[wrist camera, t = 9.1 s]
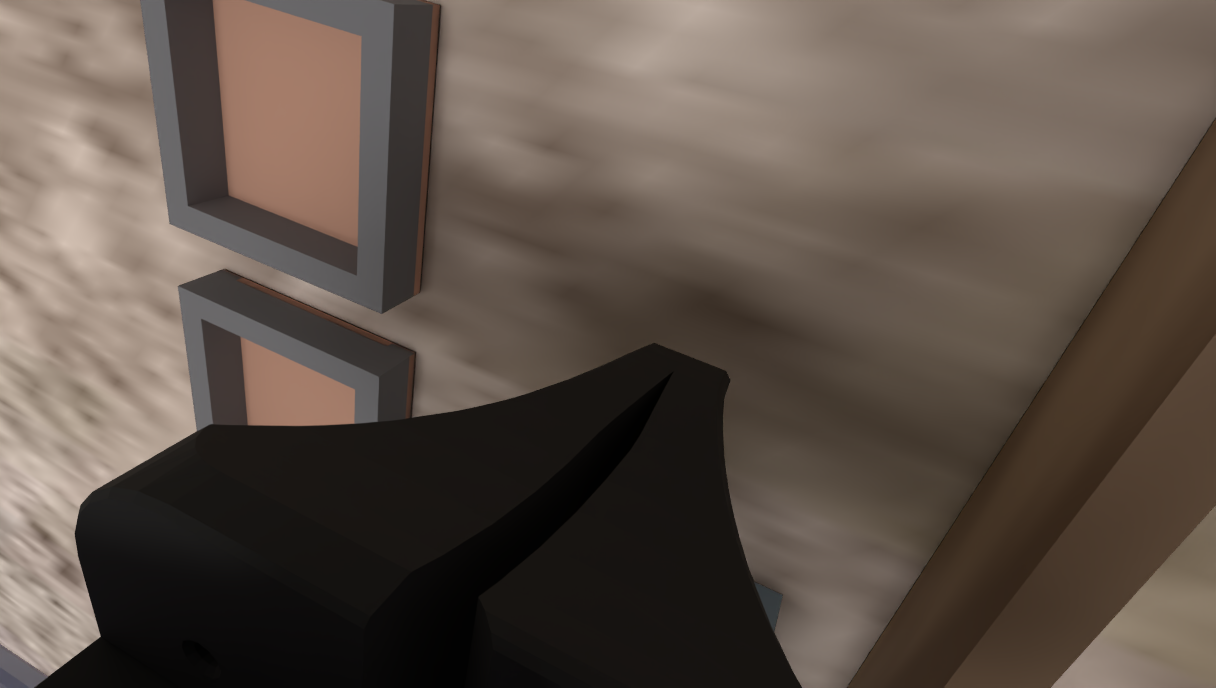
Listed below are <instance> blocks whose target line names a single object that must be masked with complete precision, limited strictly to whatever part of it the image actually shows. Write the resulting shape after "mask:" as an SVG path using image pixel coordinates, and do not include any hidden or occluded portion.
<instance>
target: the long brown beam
mask: <svg viewBox="0 0 1216 688" xmlns="http://www.w3.org/2000/svg"><path fill="white" fill-rule="evenodd" d="M1215 505H1216V119H1215V121H1214V122H1213V124H1212V126H1211V127H1210V129H1209V130H1208V132H1207V133H1206V135H1205V136H1204V138H1203V139H1202V141H1201V142H1200V144H1199V146H1198V147H1197V149H1196V150H1195V152H1194V153H1193V155H1192V156H1191V158H1190V159H1189V161H1188V163H1187V164H1186V166H1185V167H1184V169H1183V170H1182V172H1181V173H1180V175H1179V176H1178V178H1177V180H1176V181H1175V183H1174V184H1173V186H1172V187H1171V189H1170V190H1169V192H1168V193H1167V195H1166V197H1165V198H1164V200H1163V201H1162V203H1161V204H1160V206H1159V207H1158V209H1157V210H1156V212H1155V214H1154V215H1153V217H1152V218H1151V220H1150V221H1149V223H1148V224H1147V226H1146V227H1145V229H1144V230H1143V232H1142V234H1141V235H1140V237H1139V238H1138V240H1137V241H1136V243H1135V244H1134V246H1133V247H1132V249H1131V251H1130V252H1129V254H1128V255H1127V257H1126V258H1125V260H1124V261H1123V263H1122V264H1121V266H1120V268H1119V269H1118V271H1117V272H1116V274H1115V275H1114V277H1113V278H1112V280H1111V281H1110V283H1109V285H1108V286H1107V288H1106V289H1105V291H1104V292H1103V294H1102V295H1101V297H1100V298H1099V300H1098V302H1097V303H1096V305H1095V306H1094V308H1093V309H1092V311H1091V312H1090V314H1089V315H1088V317H1087V319H1086V320H1085V322H1084V323H1083V325H1082V326H1081V328H1080V329H1079V331H1078V332H1077V334H1076V335H1075V337H1074V339H1073V340H1072V342H1071V343H1070V345H1069V346H1068V348H1067V349H1066V351H1065V352H1064V354H1063V356H1062V357H1061V359H1060V360H1059V362H1058V363H1057V365H1056V366H1055V368H1054V369H1053V371H1052V373H1051V374H1050V376H1049V377H1048V379H1047V380H1046V382H1045V383H1044V385H1043V386H1042V388H1041V390H1040V391H1039V393H1038V394H1037V396H1036V397H1035V399H1034V400H1033V402H1032V403H1031V405H1030V407H1029V408H1028V410H1027V411H1026V413H1025V414H1024V416H1023V417H1022V419H1021V420H1020V422H1019V423H1018V425H1017V427H1016V428H1015V430H1014V431H1013V433H1012V434H1011V436H1010V437H1009V439H1008V440H1007V442H1006V444H1005V445H1004V447H1003V448H1002V450H1001V451H1000V453H999V454H998V456H997V457H996V459H995V461H994V462H993V464H992V465H991V467H990V468H989V470H988V471H987V473H986V474H985V476H984V478H983V479H982V481H981V482H980V484H979V485H978V487H977V488H976V490H975V491H974V493H973V495H972V496H971V498H970V499H969V501H968V502H967V504H966V505H965V507H964V508H963V510H962V512H961V513H960V515H959V516H958V518H957V519H956V521H955V522H954V524H953V525H952V527H951V528H950V530H949V532H948V533H947V535H946V536H945V538H944V539H943V541H942V542H941V544H940V545H939V547H938V549H937V550H936V552H935V553H934V555H933V556H932V558H931V559H930V561H929V562H928V564H927V566H926V567H925V569H924V570H923V572H922V573H921V575H920V576H919V578H918V579H917V581H916V583H915V584H914V586H913V587H912V589H911V590H910V592H909V593H908V595H907V596H906V598H905V600H904V601H903V603H902V604H901V606H900V607H899V609H898V610H897V612H896V613H895V615H894V616H893V618H892V620H891V621H890V623H889V624H888V626H887V627H886V629H885V630H884V632H883V633H882V635H881V637H880V638H879V640H878V641H877V643H876V644H875V646H874V647H873V649H872V650H871V652H870V654H869V655H868V657H867V658H866V660H865V661H864V663H863V664H862V666H861V667H860V669H859V671H858V672H857V674H856V675H855V677H854V678H853V680H852V681H851V683H850V684H849V686H848V688H1051V687H1052V685H1053V684H1054V683H1055V682H1056V681H1057V680H1058V679H1059V678H1060V677H1061V676H1062V674H1063V673H1064V672H1065V671H1066V670H1067V669H1068V668H1069V667H1070V666H1071V664H1072V663H1073V662H1074V661H1075V660H1076V659H1077V658H1078V657H1079V656H1080V654H1081V653H1082V652H1083V651H1084V650H1085V649H1086V648H1087V647H1088V646H1089V645H1090V643H1091V642H1092V641H1093V640H1094V639H1095V638H1096V637H1097V636H1098V635H1099V633H1100V632H1101V631H1102V630H1103V629H1104V628H1105V627H1106V626H1107V625H1108V624H1109V622H1110V621H1111V620H1112V619H1113V618H1114V617H1115V616H1116V615H1117V614H1118V612H1119V611H1120V610H1121V609H1122V608H1123V607H1124V606H1125V605H1126V604H1127V603H1128V601H1129V600H1130V599H1131V598H1132V597H1133V596H1134V595H1135V594H1136V593H1137V591H1138V590H1139V589H1140V588H1141V587H1142V586H1143V585H1144V584H1145V583H1146V582H1147V580H1148V579H1149V578H1150V577H1151V576H1152V575H1153V574H1154V573H1155V572H1156V570H1157V569H1158V568H1159V567H1160V566H1161V565H1162V564H1163V563H1164V562H1165V560H1166V559H1167V558H1168V557H1169V556H1170V555H1171V554H1172V553H1173V552H1174V551H1175V549H1176V548H1177V547H1178V546H1179V545H1180V544H1181V543H1182V542H1183V541H1184V539H1185V538H1186V537H1187V536H1188V535H1189V534H1190V533H1191V532H1192V531H1193V530H1194V528H1195V527H1196V526H1197V525H1198V524H1199V523H1200V522H1201V521H1202V520H1203V518H1204V517H1205V516H1206V515H1207V514H1208V513H1209V512H1210V511H1211V510H1212V509H1213V507H1214V506H1215Z"/></svg>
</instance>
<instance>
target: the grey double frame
mask: <svg viewBox="0 0 1216 688" xmlns="http://www.w3.org/2000/svg"><path fill="white" fill-rule="evenodd" d="M140 2H141V9H142V17H143V24H144V32H145V40H146V47H147V55H148V62H149V70H150V78H151V85H152V93H153V101H154V108H155V116H156V123H157V131H158V139H159V146H160V154H161V161H162V169H163V177H164V184H165V192H166V199H167V207H168V215H169V222H170V224H171V225H174V226H176V227H178V228H181V229H183V230H185V231H188V232H190V233H192V234H195V235H197V236H199V237H202V238H204V239H207V240H209V241H211V242H214V243H216V244H218V245H221V246H223V247H225V248H228V249H230V250H232V251H235V252H237V253H240V254H242V255H244V256H247V257H249V258H251V259H254V260H256V261H258V262H261V263H263V264H265V265H268V266H270V267H273V268H275V269H277V270H280V271H282V272H284V273H287V274H289V275H291V276H294V277H296V278H298V279H301V280H303V281H306V282H308V283H310V284H313V285H315V286H317V287H320V288H322V289H324V290H327V291H329V292H331V293H334V294H336V295H338V296H341V297H343V298H346V299H348V300H350V301H353V302H355V303H357V304H360V305H362V306H364V307H367V308H369V309H371V310H374V311H376V312H379V313H381V314H382V313H384V312H386V311H388V310H390V309H391V308H393V307H395V306H397V305H398V304H400V303H402V302H404V301H406V300H407V299H409V298H411V297H413V296H415V295H416V294H418V293H420V280H421V266H422V252H423V238H424V224H425V210H426V196H427V182H428V168H429V154H430V140H431V126H432V112H433V98H434V84H435V70H436V56H437V42H438V28H439V14H440V5H438V4H434V3H431V2H427V1H424V0H140ZM178 291H179V298H180V306H181V313H182V321H183V329H184V336H185V344H186V351H187V359H188V367H189V374H190V382H191V389H192V397H193V405H194V412H195V420H196V427H197V431H199V430H200V429H202V428H204V427H206V426H208V425H210V424H218V425H270V426H314V425H338V424H357V423H369V422H381V421H392V420H400V419H407V418H411V406H412V392H413V378H414V364H415V352H413V351H410V350H408V349H406V348H404V347H401V346H399V345H397V344H394V343H392V342H390V341H387V340H385V339H383V338H381V337H378V336H376V335H374V334H371V333H369V332H367V331H364V330H362V329H360V328H358V327H355V326H353V325H351V324H348V323H346V322H344V321H341V320H339V319H337V318H335V317H332V316H330V315H328V314H325V313H323V312H321V311H318V310H316V309H314V308H312V307H309V306H307V305H305V304H302V303H300V302H298V301H295V300H293V299H291V298H289V297H286V296H284V295H282V294H279V293H277V292H275V291H272V290H270V289H268V288H266V287H263V286H261V285H259V284H256V283H254V282H252V281H249V280H247V279H245V278H243V277H240V276H238V275H236V274H233V273H231V272H229V271H226V270H224V269H223V270H220V271H217V272H215V273H212V274H209V275H206V276H204V277H201V278H198V279H195V280H193V281H190V282H187V283H185V284H182V285H179V286H178Z"/></svg>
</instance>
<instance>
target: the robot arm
mask: <svg viewBox="0 0 1216 688" xmlns="http://www.w3.org/2000/svg"><path fill="white" fill-rule="evenodd" d="M729 383H730V378H729V376H728V374H727V372H726V371H725V370H722V369H720V368H717V367H715V366H712V365H709V364H707V363H704V362H702V361H699V360H696V359H694V358H691V357H689V356H686V355H684V354H681V353H678V352H676V351H673V350H671V349H668V348H666V347H663V346H660V345H658V344H655V343H653V344H650V345H648V346H645V347H643V348H641V349H638V350H636V351H634V352H631V353H629V354H627V355H625V356H623V357H620V358H618V359H616V360H614V361H611V362H609V363H607V364H605V365H602V366H600V367H598V368H595V369H593V370H591V371H588V372H586V373H583V374H581V375H578V376H576V377H574V378H571V379H569V380H566V381H563V382H560V383H557V384H554V385H551V386H548V387H546V388H543V389H540V390H537V391H534V392H531V393H528V394H525V395H522V396H518V397H515V398H511V399H507V400H504V401H500V402H496V403H491V404H487V405H483V406H478V407H474V408H470V409H465V410H460V411H454V412H447V413H441V414H434V415H427V416H421V417H414V418H407V419H400V420H392V421H381V422H369V423H357V424H338V425H314V426H270V425H218V424H210V425H208V426H206V427H204V428H202V429H200V430H199V431H197V432H195V433H193V434H192V435H190V436H188V437H186V438H185V439H183V440H181V441H180V442H178V443H176V444H174V445H173V446H171V447H169V448H167V449H166V450H164V451H162V452H160V453H159V454H157V455H155V456H154V457H152V458H150V459H148V460H147V461H145V462H143V463H141V464H140V465H138V466H136V467H135V468H133V469H131V470H129V471H128V472H126V473H124V474H122V475H121V476H119V477H117V478H116V479H114V480H112V481H110V482H109V483H107V484H105V485H103V486H102V487H100V488H98V489H97V490H95V491H93V492H92V493H91V494H90V495H89V496H88V497H87V498H86V500H85V501H84V502H83V503H82V504H81V506H80V510H79V514H78V519H77V524H76V530H75V539H76V545H77V551H78V557H79V561H80V564H81V568H82V571H83V575H84V578H85V582H86V585H87V589H88V593H89V596H90V600H91V603H92V607H93V610H94V614H95V617H96V621H97V624H98V628H99V632H100V635H101V637H100V638H99V639H97V640H96V641H95V642H93V643H92V644H91V645H89V646H88V647H87V648H85V649H84V650H83V651H81V652H80V653H79V654H77V655H76V656H75V657H74V658H72V659H71V660H70V661H68V662H67V663H66V664H64V665H63V666H62V667H60V668H59V669H58V670H56V671H55V672H54V673H53V674H51V675H50V676H49V677H48V676H47V675H45V674H44V673H42V672H41V671H39V670H38V669H36V668H35V667H33V666H32V665H31V664H29V663H28V662H26V661H25V660H23V659H22V658H20V657H19V656H17V655H16V654H14V653H13V652H11V651H10V650H8V649H7V648H5V647H4V646H2V645H1V644H0V688H802V687H801V685H800V683H799V682H798V680H797V678H796V676H795V675H794V673H793V671H792V669H791V667H790V665H789V663H788V660H787V658H786V656H785V654H784V652H783V650H782V648H781V646H780V644H779V641H778V639H777V637H776V635H775V633H774V631H773V629H772V627H771V624H770V621H769V619H768V616H767V614H766V611H765V609H764V606H763V604H762V601H761V599H760V596H759V593H758V591H757V588H756V586H755V583H754V581H753V578H752V576H751V573H750V570H749V567H748V564H747V561H746V558H745V554H744V551H743V548H742V545H741V541H740V538H739V534H738V530H737V526H736V522H735V518H734V514H733V510H732V505H731V500H730V494H729V489H728V482H727V475H726V468H725V459H724V444H723V407H724V398H725V394H726V391H727V388H728V385H729Z"/></svg>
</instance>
